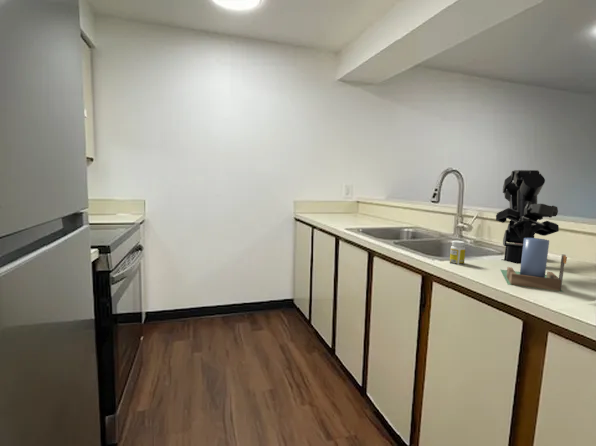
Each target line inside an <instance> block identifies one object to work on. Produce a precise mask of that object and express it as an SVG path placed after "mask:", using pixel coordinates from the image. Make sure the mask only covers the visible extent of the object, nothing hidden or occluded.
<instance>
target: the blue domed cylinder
mask: <svg viewBox="0 0 596 446" xmlns="http://www.w3.org/2000/svg"><path fill="white" fill-rule="evenodd" d="M549 247H550V240H549V239H545V238H539V237H538V238H536V237H534V238H524V242H523V251H522V259H521V263H520V269H519V272H520V275H528V276H536V277H545V275H546V273H547V272H546V270H547V263H548V256H549V255H548V254H549Z"/></svg>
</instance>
